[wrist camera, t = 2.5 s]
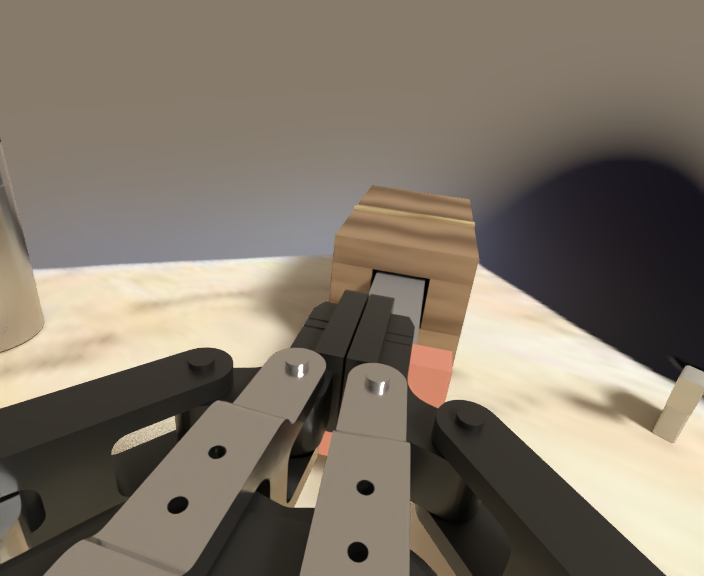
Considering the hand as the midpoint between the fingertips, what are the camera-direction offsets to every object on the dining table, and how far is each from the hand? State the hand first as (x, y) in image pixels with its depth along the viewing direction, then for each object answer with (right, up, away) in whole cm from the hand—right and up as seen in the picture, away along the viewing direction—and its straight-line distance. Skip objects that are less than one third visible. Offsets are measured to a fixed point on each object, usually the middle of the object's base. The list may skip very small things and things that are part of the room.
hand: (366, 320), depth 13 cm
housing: (+5, -3, +38) cm, 38 cm away
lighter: (+27, -12, +25) cm, 39 cm away
